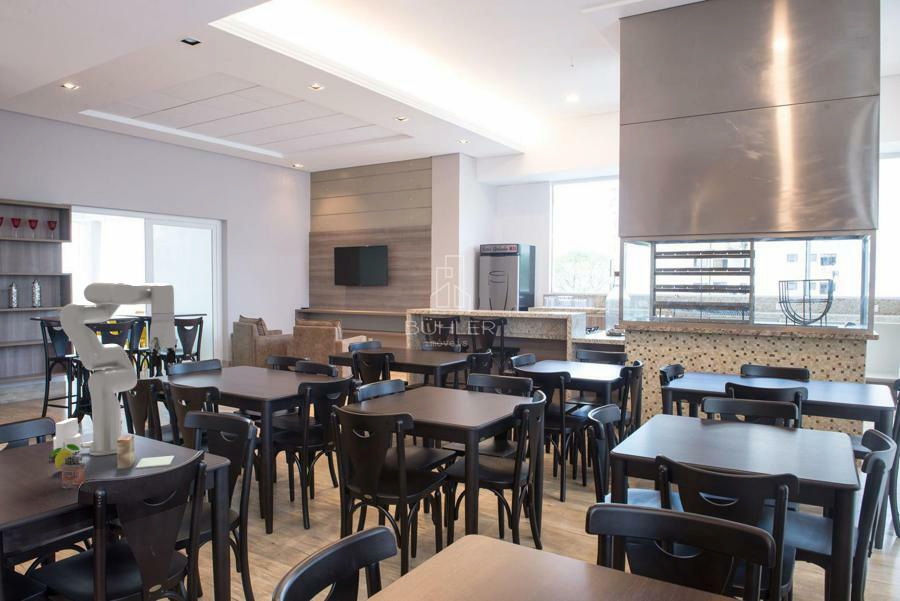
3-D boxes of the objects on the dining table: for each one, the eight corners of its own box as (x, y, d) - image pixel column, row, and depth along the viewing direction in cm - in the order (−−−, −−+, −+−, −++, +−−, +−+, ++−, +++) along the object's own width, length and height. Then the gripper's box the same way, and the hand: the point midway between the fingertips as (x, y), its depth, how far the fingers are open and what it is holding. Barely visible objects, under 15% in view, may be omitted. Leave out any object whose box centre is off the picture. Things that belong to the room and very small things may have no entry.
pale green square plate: (135, 468, 209) (135, 467, 209) (141, 459, 220) (141, 458, 220) (169, 465, 212) (169, 464, 212) (174, 456, 223) (174, 455, 223)
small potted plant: (58, 487, 190) (57, 456, 190) (67, 484, 194) (66, 453, 193) (79, 489, 188) (78, 458, 188) (88, 486, 192) (87, 455, 191)
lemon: (80, 468, 210) (79, 440, 209) (65, 474, 204) (64, 445, 204) (65, 467, 212) (64, 439, 211) (50, 472, 206) (49, 443, 206)
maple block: (117, 468, 209) (116, 440, 209) (122, 463, 216) (121, 435, 216) (130, 467, 211) (129, 439, 210) (134, 461, 217) (133, 434, 217)
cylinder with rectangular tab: (71, 454, 227) (70, 423, 227) (48, 455, 227) (47, 423, 227) (86, 448, 236) (85, 418, 236) (64, 448, 236) (63, 418, 236)
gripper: (166, 316, 227) (167, 361, 228) (139, 319, 210) (140, 368, 210) (185, 316, 226) (186, 361, 227) (159, 319, 209) (160, 368, 210)
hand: (164, 364), depth 219 cm, fingers open, 9 cm apart
